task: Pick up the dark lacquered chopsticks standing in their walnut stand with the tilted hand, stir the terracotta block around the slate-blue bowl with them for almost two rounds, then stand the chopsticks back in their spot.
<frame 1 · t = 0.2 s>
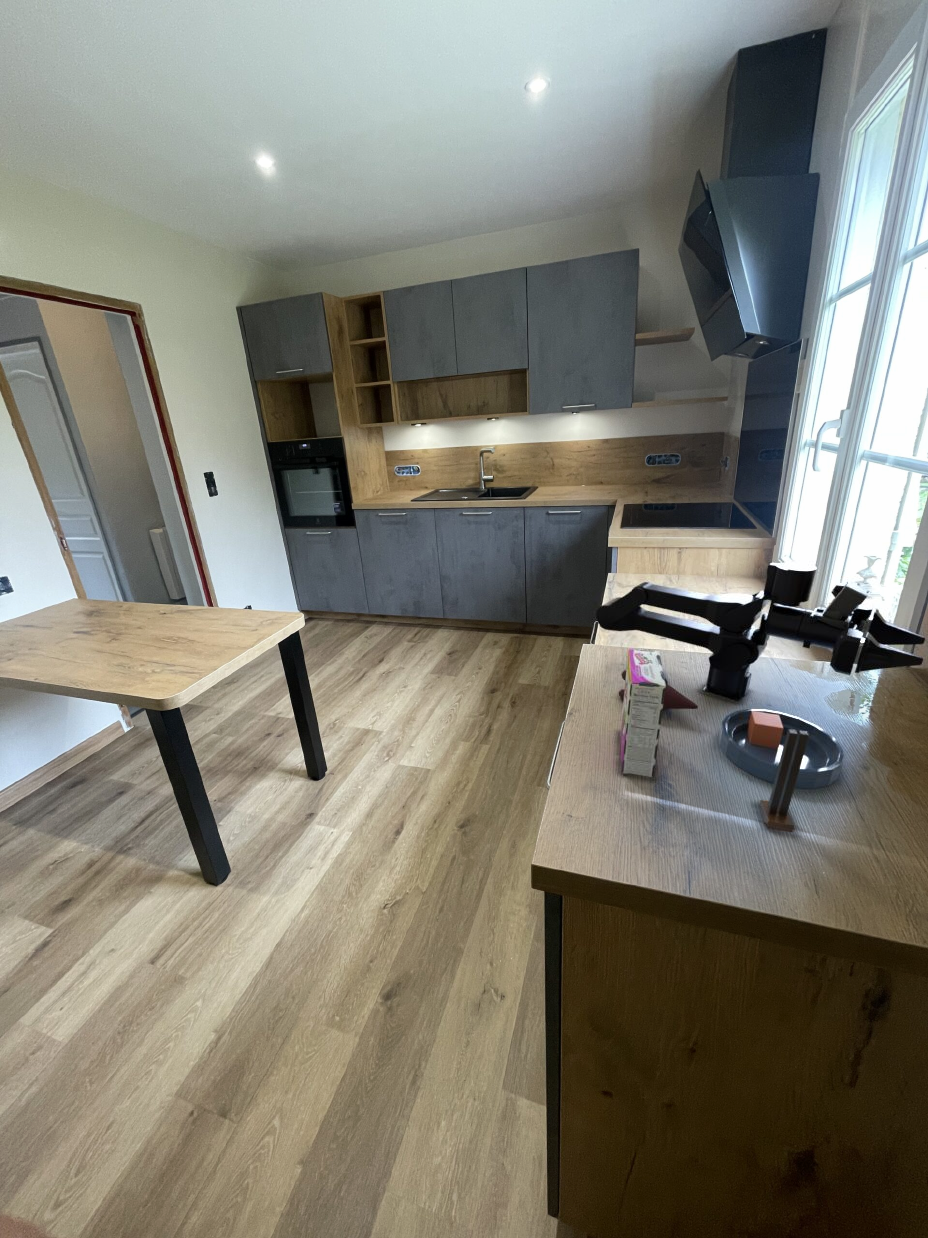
hand: (923, 650, 73), 17 cm above the countertop, tool horizontal, fingers open, 9 cm apart
block: (762, 739, 80), resting on bowl
bowl: (775, 755, 77), on the countertop
chopsticks: (774, 819, 65), on the countertop
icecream: (654, 710, 91), on the countertop
candy bar box: (635, 756, 79), on the countertop
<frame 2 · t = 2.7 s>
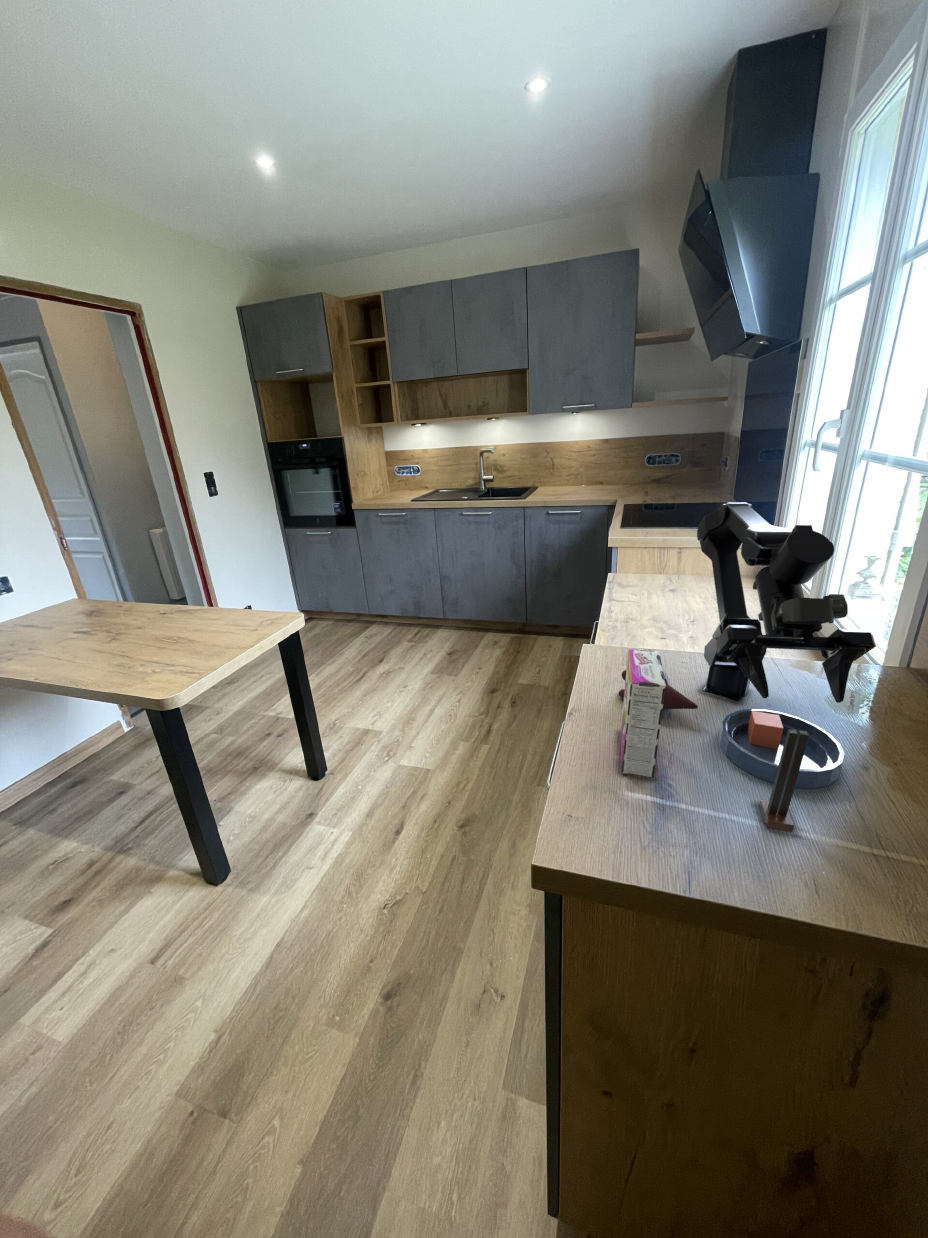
hand: (802, 699, 66), 14 cm above the countertop, tool tilted 50°, fingers open, 9 cm apart
nothing on the countertop moved.
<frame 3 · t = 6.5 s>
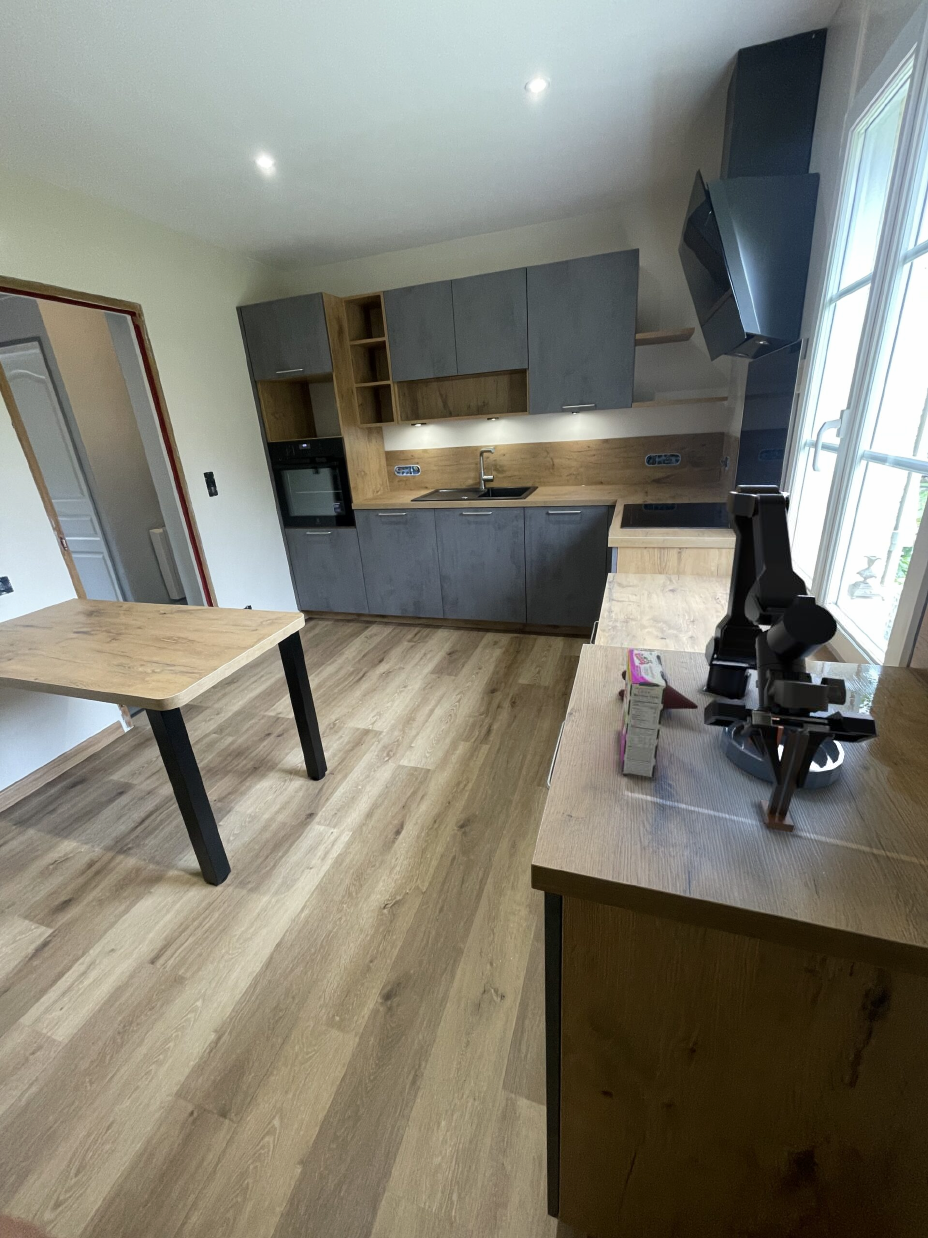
hand: (788, 787, 61), 7 cm above the countertop, tool tilted 45°, fingers closed on chopsticks, 2 cm apart
chopsticks: (774, 819, 65), on the countertop, touching gripper
everything else where it was.
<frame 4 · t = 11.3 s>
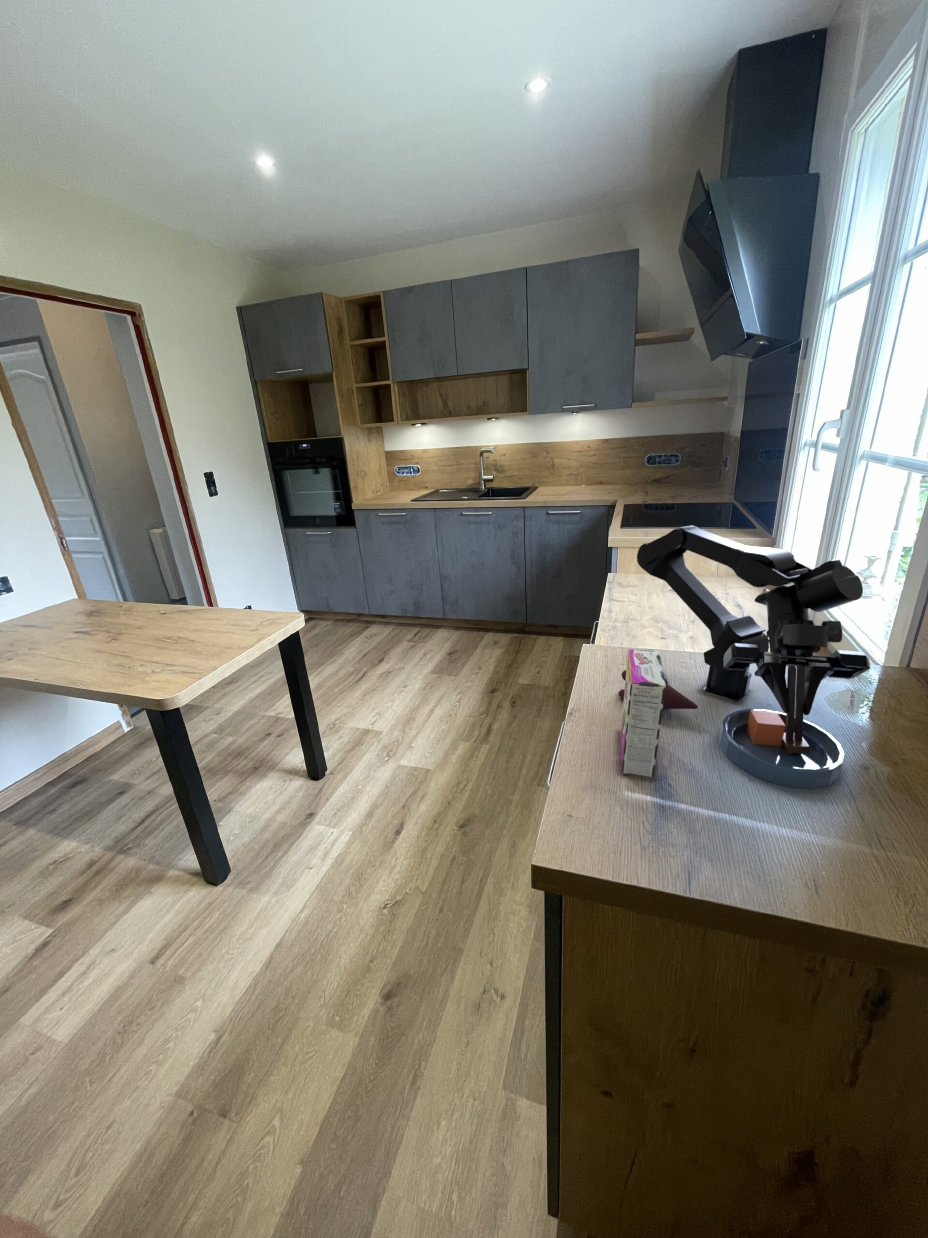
hand: (796, 713, 74), 8 cm above the countertop, tool tilted 45°, fingers closed on chopsticks, 2 cm apart
block: (763, 738, 81), point 1 cm above the countertop, touching bowl, chopsticks
chopsticks: (793, 745, 78), point 1 cm above the countertop, tilted 9°, touching block, gripper
everything else where it was.
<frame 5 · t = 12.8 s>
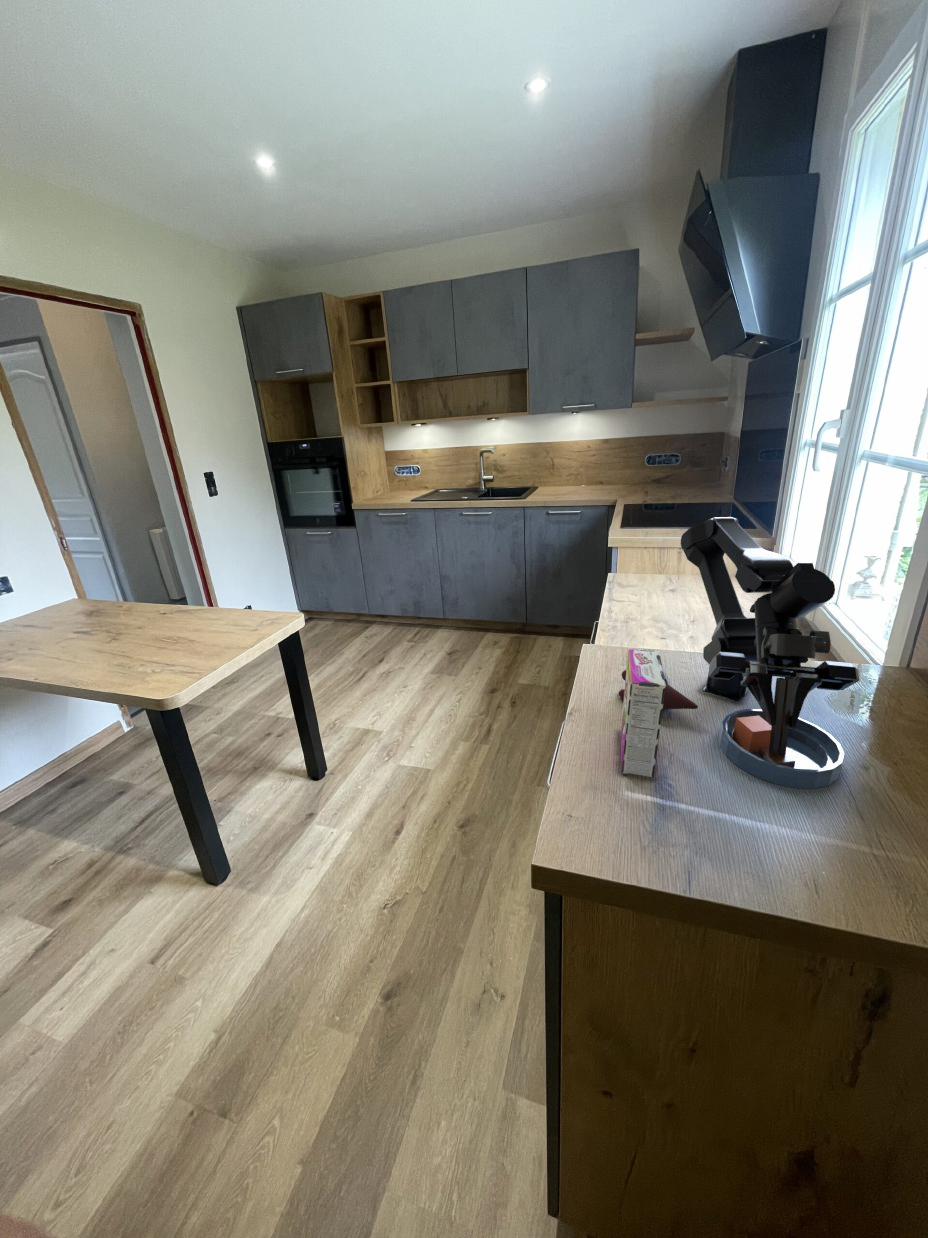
hand: (782, 726, 72), 8 cm above the countertop, tool tilted 45°, fingers closed on chopsticks, 2 cm apart
block: (751, 744, 79), point 1 cm above the countertop, touching bowl
chopsticks: (776, 761, 75), point 1 cm above the countertop, tilted 6°, touching gripper
everything else where it was.
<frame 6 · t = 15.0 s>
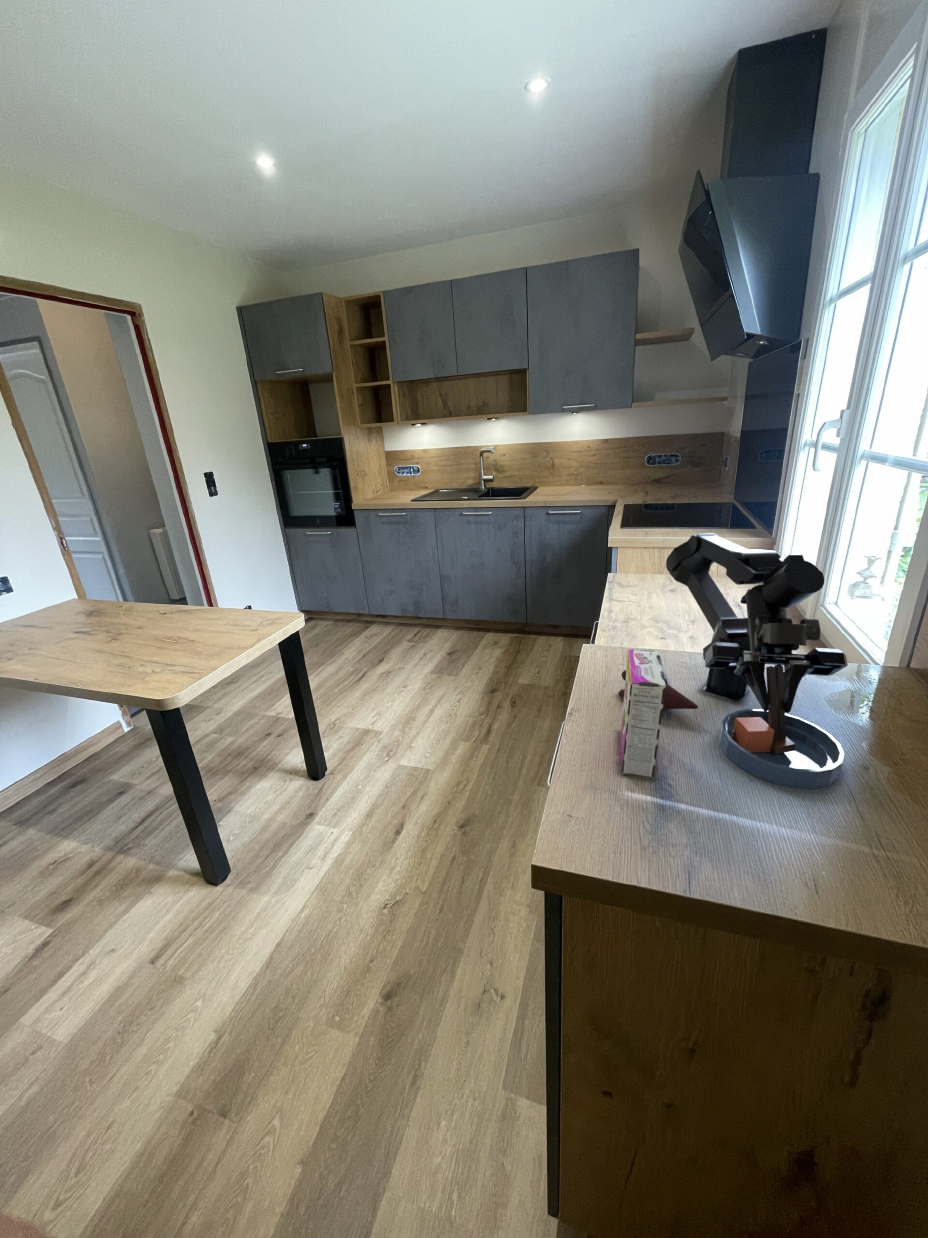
hand: (776, 711, 75), 8 cm above the countertop, tool tilted 45°, fingers closed on chopsticks, 3 cm apart
block: (750, 745, 79), point 1 cm above the countertop, touching bowl, chopsticks
chopsticks: (777, 745, 78), point 1 cm above the countertop, tilted 12°, touching block, gripper
everything else where it was.
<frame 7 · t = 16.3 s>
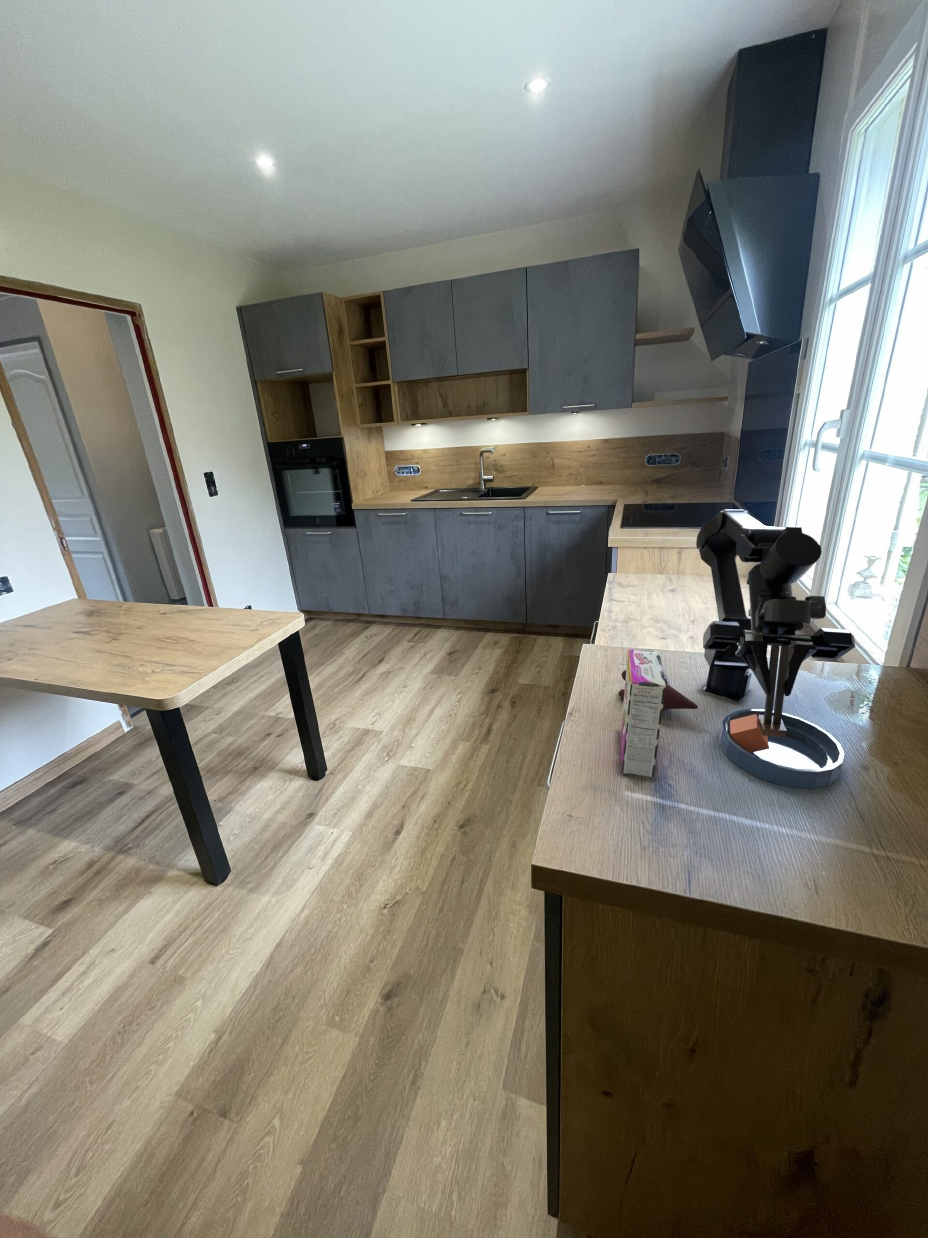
hand: (777, 694, 70), 13 cm above the countertop, tool tilted 45°, fingers closed on chopsticks, 2 cm apart
block: (754, 744, 77), point 2 cm above the countertop, tilted 33°, touching bowl, chopsticks
chopsticks: (771, 729, 74), point 6 cm above the countertop, tilted 6°, touching block, gripper
everything else where it was.
when the fingers open (7 cm above the countertop, at t = 19.7 s): chopsticks stays where it is, on the countertop.
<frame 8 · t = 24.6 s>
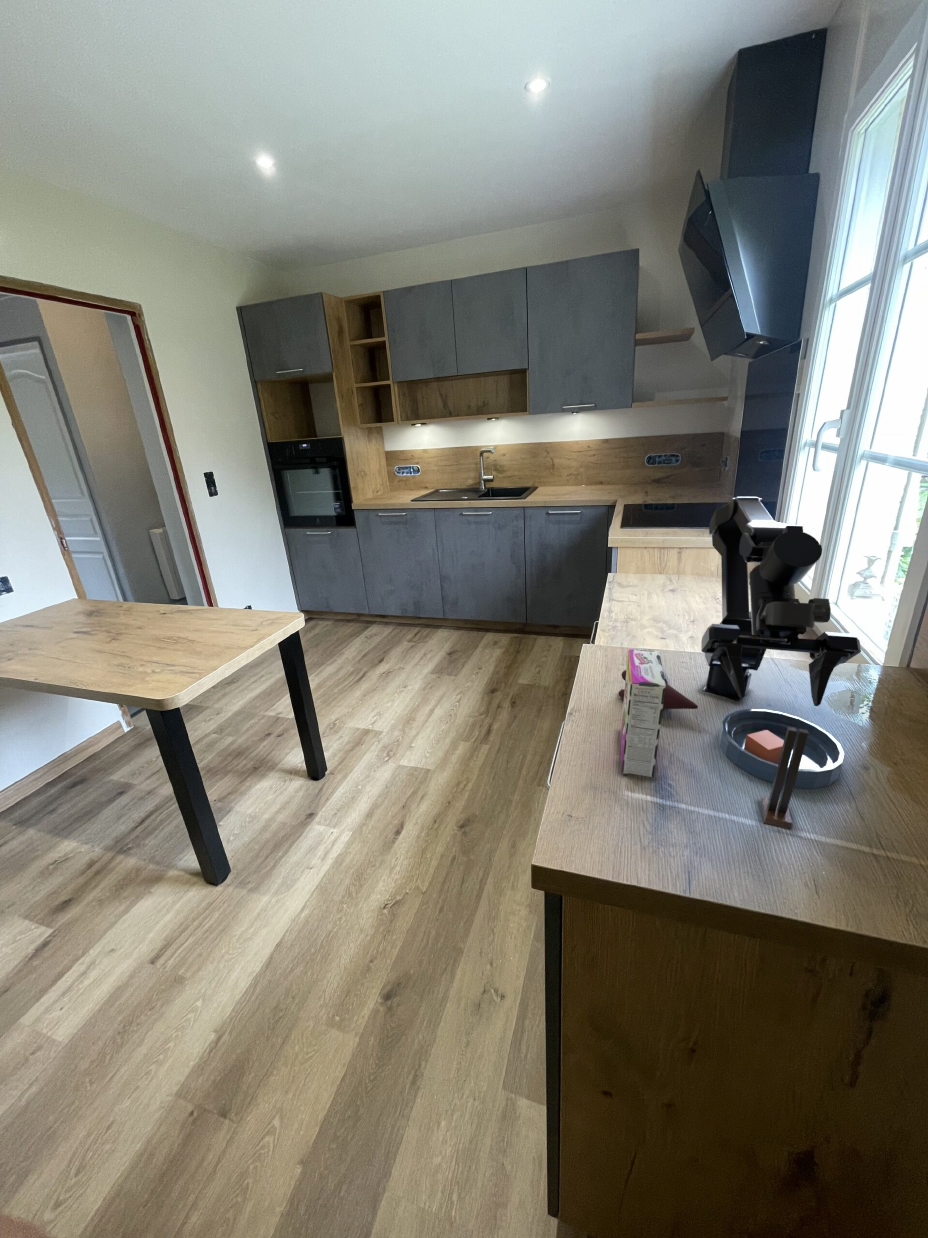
hand: (779, 701, 67), 14 cm above the countertop, tool tilted 45°, fingers open, 9 cm apart
block: (762, 760, 75), point 1 cm above the countertop, touching bowl
chopsticks: (774, 816, 66), on the countertop
everything else where it was.
at the end: block moved 6.1 cm from its start; block inside the target area in the bowl (3.6 cm from its centre), point 0.5 cm above the bowl's base; chopsticks inside the target area (0.1 cm from its centre), on the countertop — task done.
